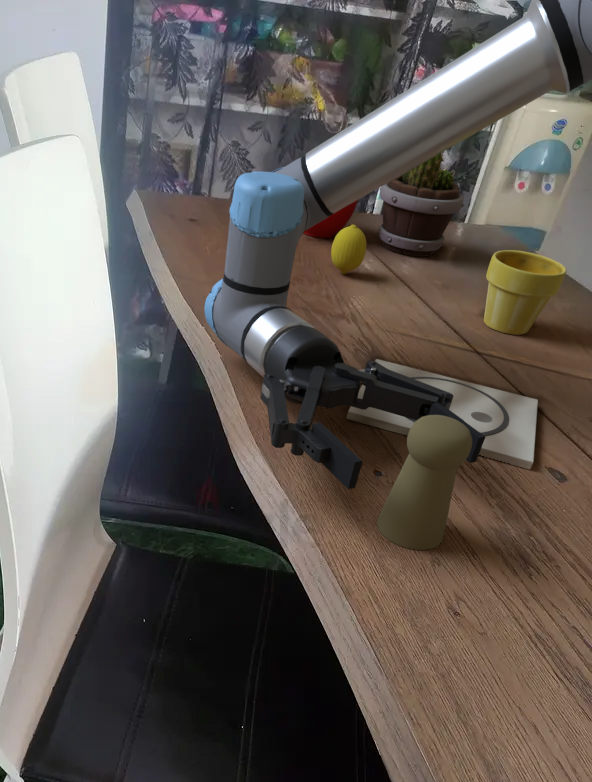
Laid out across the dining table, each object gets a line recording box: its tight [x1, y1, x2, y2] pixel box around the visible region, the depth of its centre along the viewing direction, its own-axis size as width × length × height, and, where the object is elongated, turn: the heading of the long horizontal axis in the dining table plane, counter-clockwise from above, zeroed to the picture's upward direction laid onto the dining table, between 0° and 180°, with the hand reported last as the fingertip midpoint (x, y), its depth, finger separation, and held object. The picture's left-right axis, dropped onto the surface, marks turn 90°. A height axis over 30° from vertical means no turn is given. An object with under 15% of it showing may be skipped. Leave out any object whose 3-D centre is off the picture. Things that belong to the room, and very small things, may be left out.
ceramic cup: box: [303, 199, 359, 239], centre depth 137 cm, size 13×17×10 cm
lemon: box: [330, 224, 367, 275], centre depth 120 cm, size 6×6×8 cm
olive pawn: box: [376, 415, 472, 551], centre depth 63 cm, size 6×6×11 cm
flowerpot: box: [378, 151, 465, 257], centre depth 133 cm, size 14×15×20 cm
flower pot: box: [483, 249, 567, 336], centre depth 108 cm, size 10×10×10 cm
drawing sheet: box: [346, 358, 539, 470], centre depth 85 cm, size 20×16×1 cm
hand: (419, 462), depth 64 cm, fingers open, 13 cm apart
